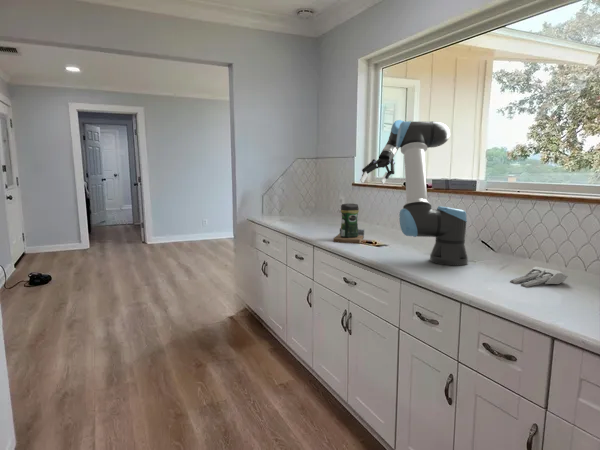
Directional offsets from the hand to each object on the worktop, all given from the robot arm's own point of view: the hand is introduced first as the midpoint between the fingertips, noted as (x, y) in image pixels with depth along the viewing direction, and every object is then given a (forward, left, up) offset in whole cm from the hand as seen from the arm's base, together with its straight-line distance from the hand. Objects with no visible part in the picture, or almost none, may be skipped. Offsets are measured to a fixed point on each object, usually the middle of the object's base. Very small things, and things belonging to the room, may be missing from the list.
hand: (371, 182), depth 208 cm
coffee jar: (-5, +11, -31) cm, 33 cm away
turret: (-65, -66, -33) cm, 98 cm away
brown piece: (-4, +11, -32) cm, 34 cm away
